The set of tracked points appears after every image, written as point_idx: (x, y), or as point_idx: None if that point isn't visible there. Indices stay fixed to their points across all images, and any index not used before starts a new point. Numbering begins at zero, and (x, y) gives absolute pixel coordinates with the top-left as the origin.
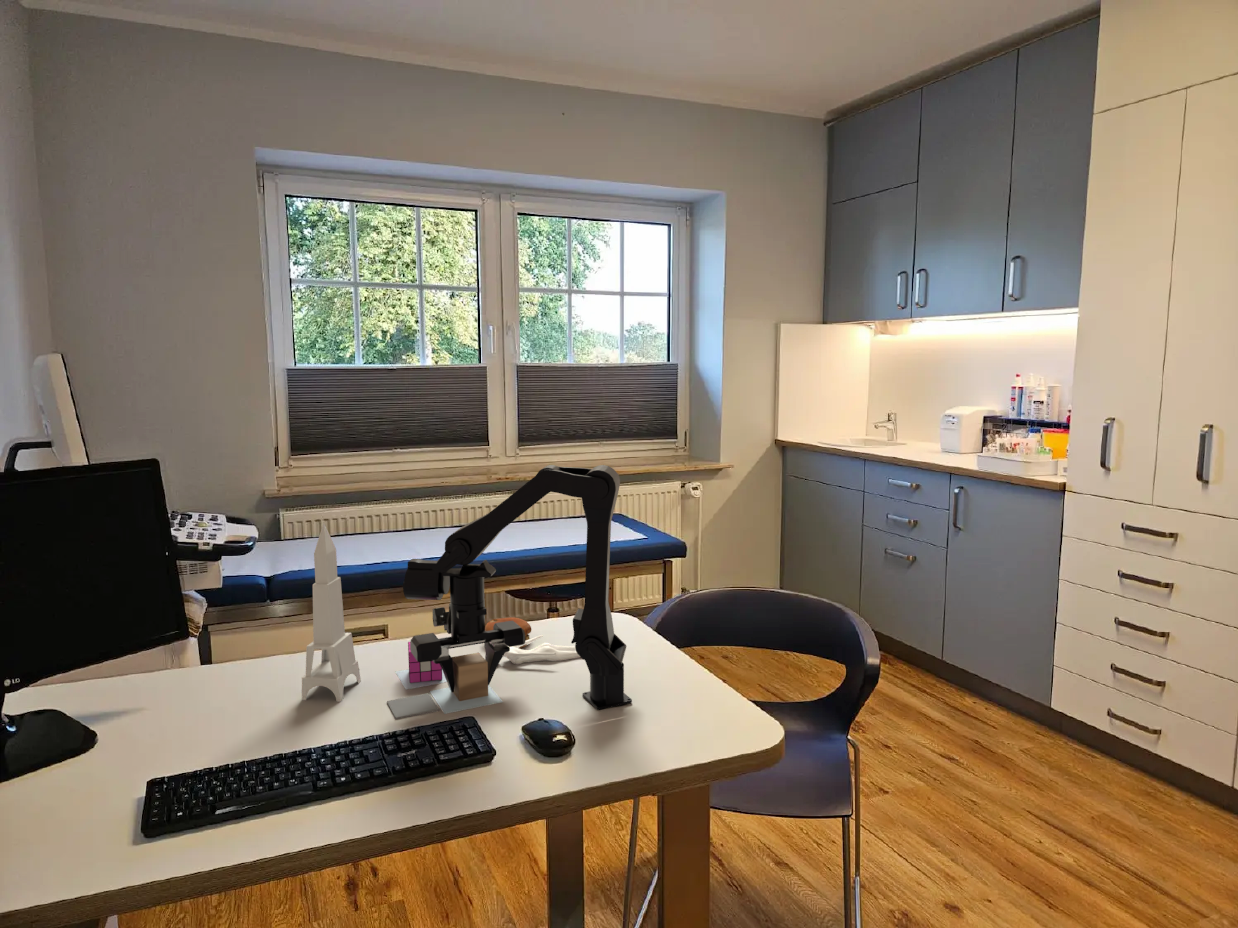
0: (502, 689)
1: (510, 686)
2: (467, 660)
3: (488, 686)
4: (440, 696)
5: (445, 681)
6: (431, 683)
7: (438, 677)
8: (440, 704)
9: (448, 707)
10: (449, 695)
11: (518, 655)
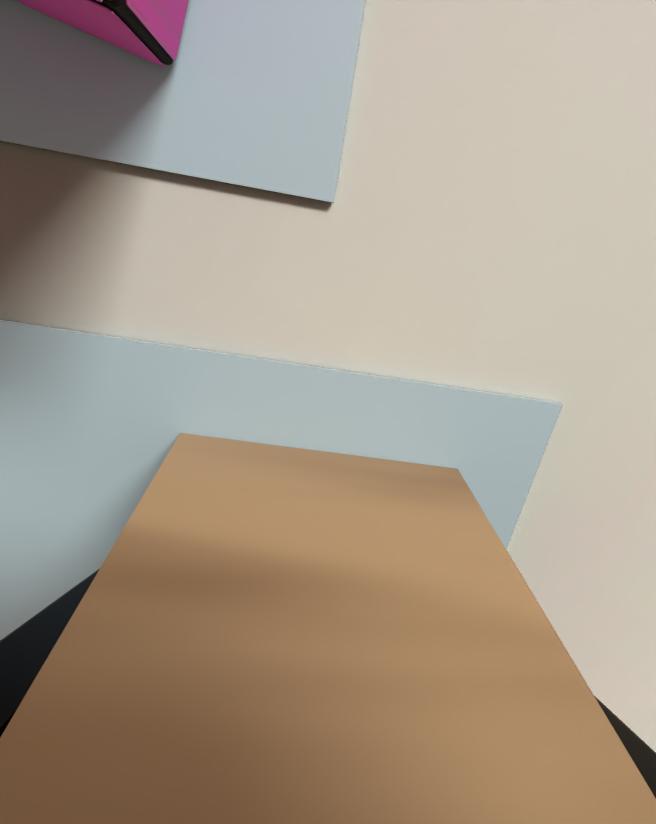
0: (548, 612)
1: (629, 599)
2: None
3: (499, 530)
4: (42, 495)
5: (198, 155)
6: (10, 91)
7: (107, 33)
8: (12, 617)
9: None
10: (126, 518)
11: None
